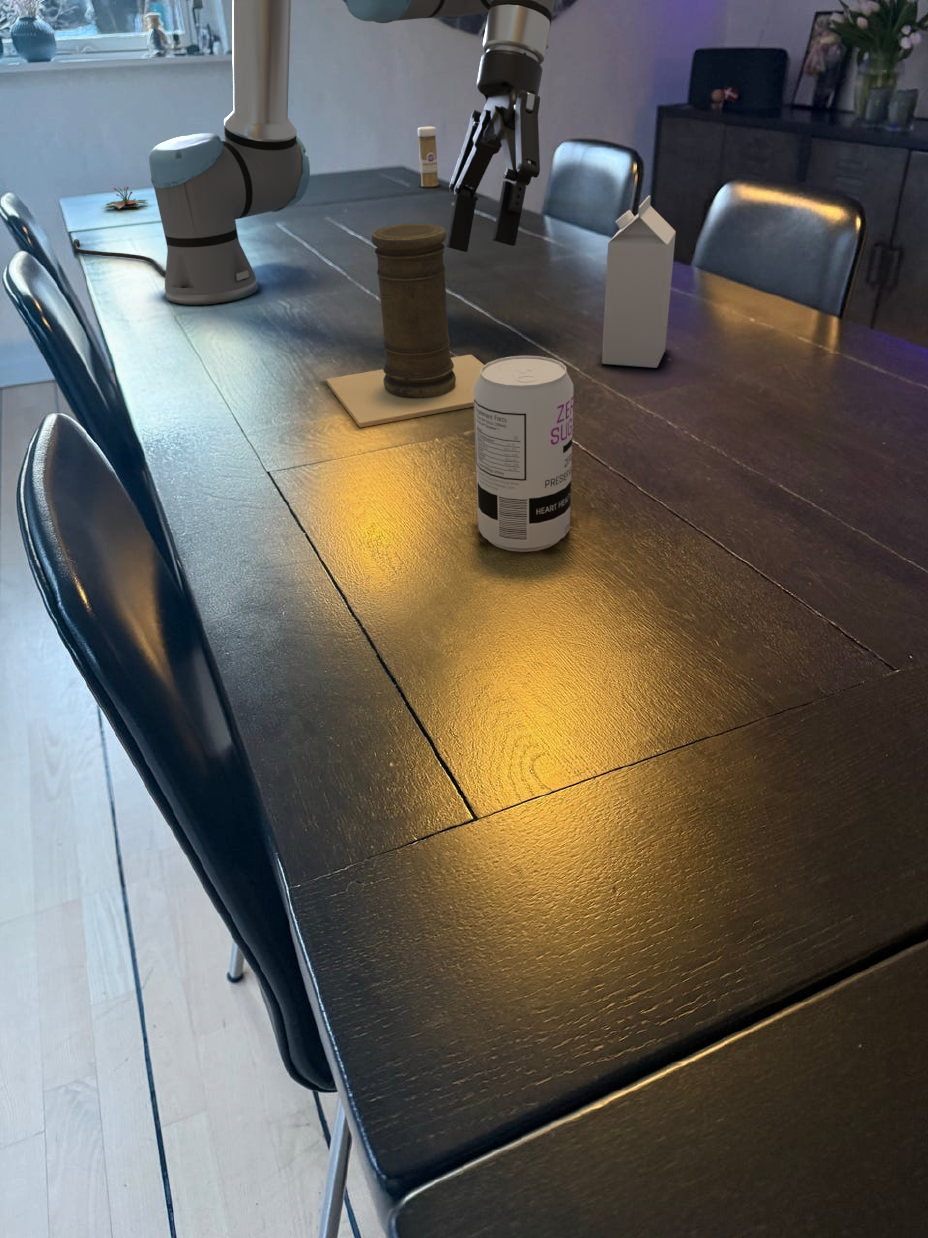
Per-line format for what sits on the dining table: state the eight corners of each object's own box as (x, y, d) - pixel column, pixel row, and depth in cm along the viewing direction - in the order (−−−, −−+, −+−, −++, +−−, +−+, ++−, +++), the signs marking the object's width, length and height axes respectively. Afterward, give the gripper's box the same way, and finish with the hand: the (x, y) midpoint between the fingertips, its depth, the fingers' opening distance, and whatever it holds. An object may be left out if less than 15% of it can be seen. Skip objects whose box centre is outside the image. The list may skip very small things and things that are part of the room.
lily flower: (143, 210, 218) (138, 190, 216) (94, 212, 219) (89, 192, 216) (157, 201, 228) (153, 181, 225) (111, 203, 228) (106, 183, 226)
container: (448, 400, 106) (439, 239, 96) (375, 397, 108) (359, 239, 98) (462, 373, 113) (456, 221, 103) (394, 371, 115) (381, 221, 105)
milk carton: (665, 351, 119) (679, 195, 108) (656, 369, 114) (670, 207, 103) (612, 347, 121) (620, 194, 110) (601, 365, 116) (609, 206, 105)
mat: (326, 383, 114) (325, 378, 114) (471, 358, 120) (471, 354, 120) (359, 427, 102) (359, 422, 102) (520, 397, 108) (520, 393, 107)
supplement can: (474, 514, 84) (468, 356, 75) (561, 507, 84) (565, 350, 76) (483, 559, 77) (477, 391, 69) (577, 551, 78) (583, 383, 69)
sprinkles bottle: (427, 188, 227) (423, 128, 219) (417, 186, 230) (413, 127, 222) (442, 186, 229) (439, 126, 221) (432, 183, 232) (429, 125, 224)
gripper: (595, 43, 98) (554, 247, 103) (493, 91, 119) (464, 258, 125) (536, 19, 95) (497, 231, 100) (443, 72, 116) (415, 244, 121)
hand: (479, 246), depth 112 cm, fingers open, 13 cm apart
